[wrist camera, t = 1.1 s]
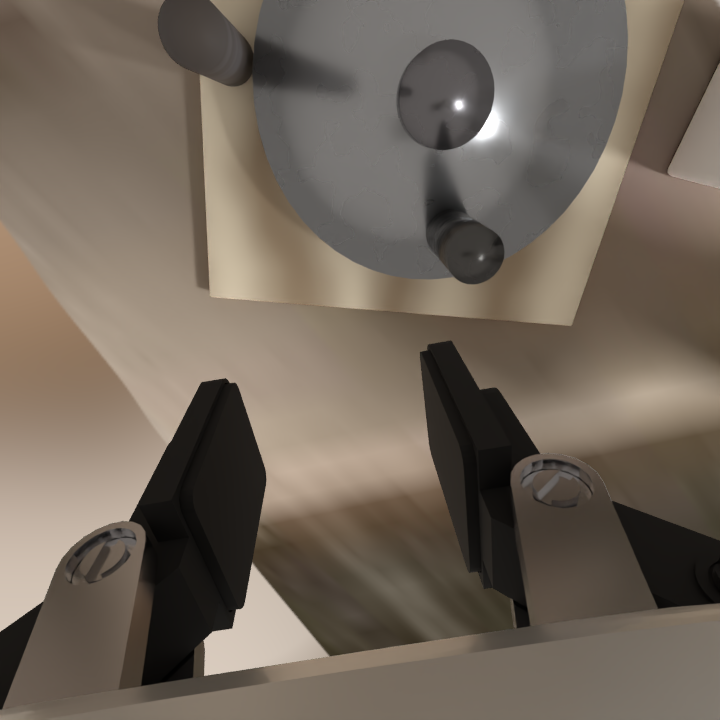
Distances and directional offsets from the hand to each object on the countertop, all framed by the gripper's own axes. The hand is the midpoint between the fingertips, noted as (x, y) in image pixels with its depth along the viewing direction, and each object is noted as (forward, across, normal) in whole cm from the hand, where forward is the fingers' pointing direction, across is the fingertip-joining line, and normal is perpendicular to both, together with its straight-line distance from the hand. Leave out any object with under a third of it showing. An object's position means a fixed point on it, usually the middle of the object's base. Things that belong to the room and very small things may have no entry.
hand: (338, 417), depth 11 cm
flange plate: (+17, -7, -8) cm, 20 cm away
